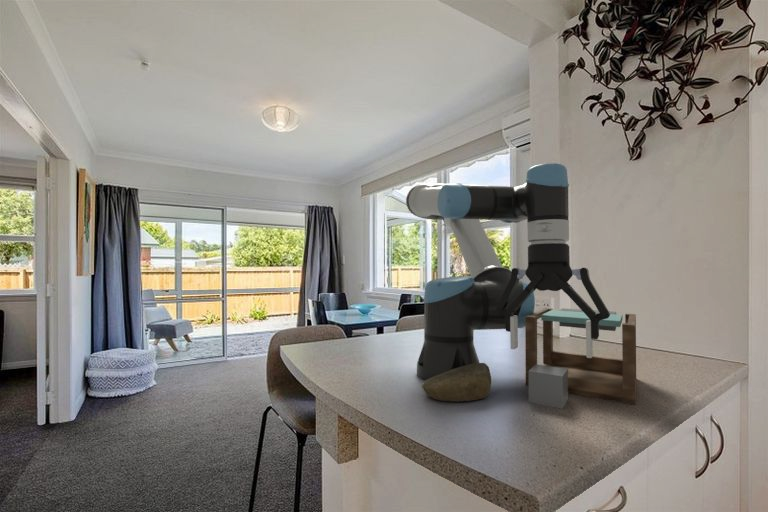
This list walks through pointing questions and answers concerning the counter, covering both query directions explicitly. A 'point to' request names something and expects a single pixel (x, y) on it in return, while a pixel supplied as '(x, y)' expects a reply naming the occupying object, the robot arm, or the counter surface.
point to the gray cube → (548, 385)
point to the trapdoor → (581, 319)
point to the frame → (588, 363)
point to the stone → (460, 383)
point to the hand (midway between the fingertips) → (550, 352)
